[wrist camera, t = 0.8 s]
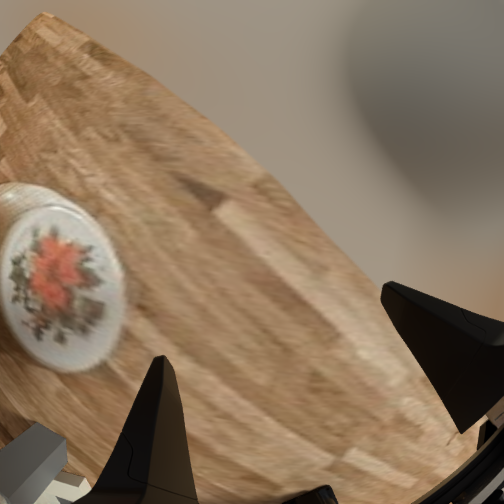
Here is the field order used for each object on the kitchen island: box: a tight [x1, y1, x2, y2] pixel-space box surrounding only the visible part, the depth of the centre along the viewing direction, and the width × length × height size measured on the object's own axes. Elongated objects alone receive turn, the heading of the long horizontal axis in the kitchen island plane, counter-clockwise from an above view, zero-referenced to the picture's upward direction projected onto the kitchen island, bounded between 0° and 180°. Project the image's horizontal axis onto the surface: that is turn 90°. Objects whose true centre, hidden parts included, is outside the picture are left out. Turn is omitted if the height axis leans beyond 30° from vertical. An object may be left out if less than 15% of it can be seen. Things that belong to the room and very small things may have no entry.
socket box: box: [34, 471, 91, 504], centre depth 16 cm, size 16×14×4 cm
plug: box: [0, 422, 68, 504], centre depth 12 cm, size 4×4×15 cm
